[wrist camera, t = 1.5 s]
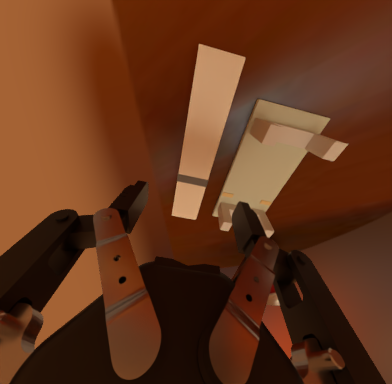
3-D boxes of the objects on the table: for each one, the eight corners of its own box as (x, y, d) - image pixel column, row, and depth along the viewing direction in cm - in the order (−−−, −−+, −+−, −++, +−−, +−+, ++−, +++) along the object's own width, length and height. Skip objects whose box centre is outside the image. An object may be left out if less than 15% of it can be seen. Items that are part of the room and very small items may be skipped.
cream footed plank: (257, 99, 18) (276, 100, 13) (326, 117, 19) (368, 125, 14) (212, 213, 30) (213, 236, 25) (255, 221, 31) (265, 245, 26)
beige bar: (199, 55, 16) (198, 43, 12) (236, 65, 16) (246, 57, 13) (175, 200, 28) (171, 215, 25) (196, 204, 29) (195, 220, 25)
